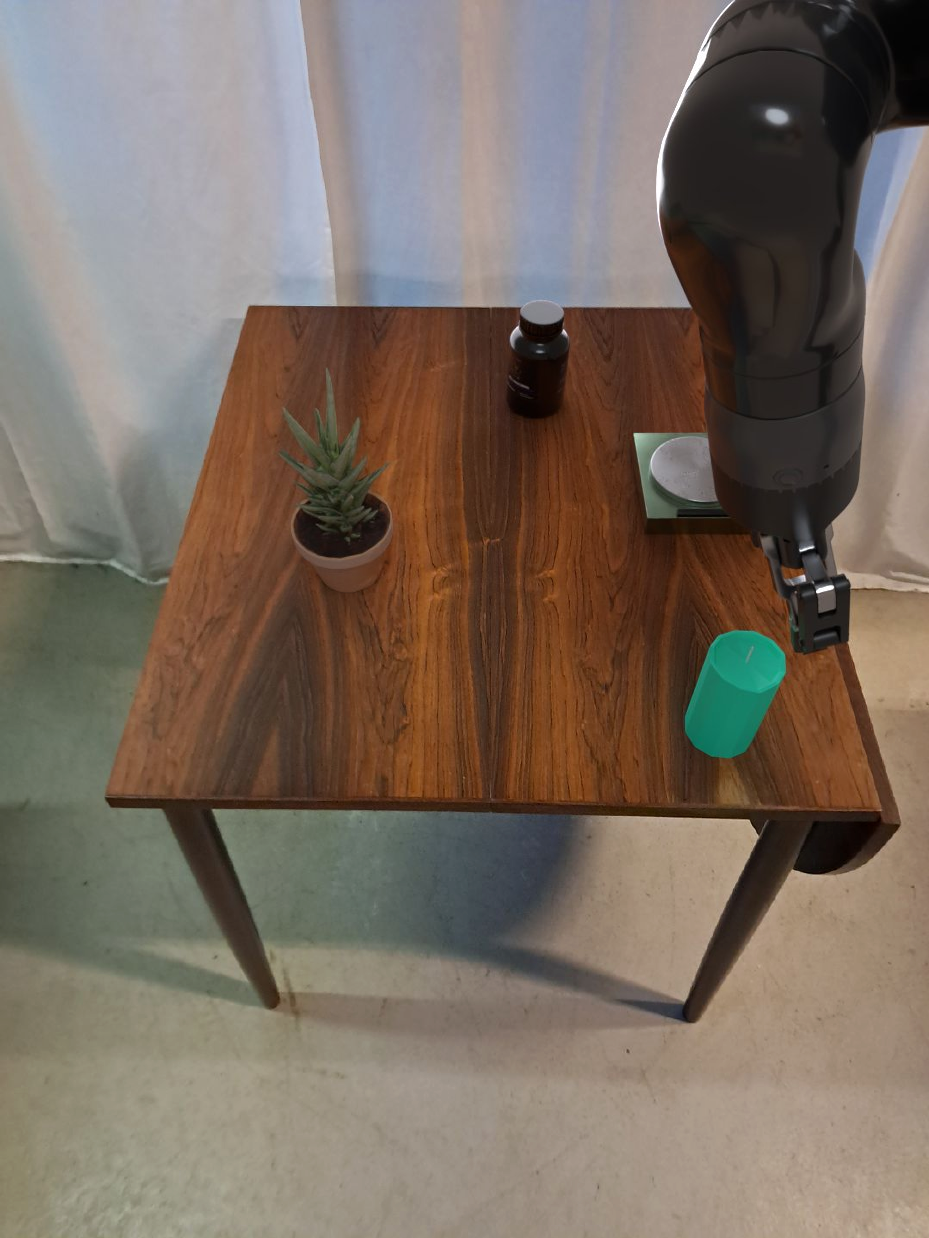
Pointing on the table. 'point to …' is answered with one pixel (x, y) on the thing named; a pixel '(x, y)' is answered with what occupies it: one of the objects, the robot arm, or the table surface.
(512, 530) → the table surface
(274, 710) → the table surface
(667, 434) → the scale
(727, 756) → the candle
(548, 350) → the supplement bottle
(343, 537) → the potted plant
